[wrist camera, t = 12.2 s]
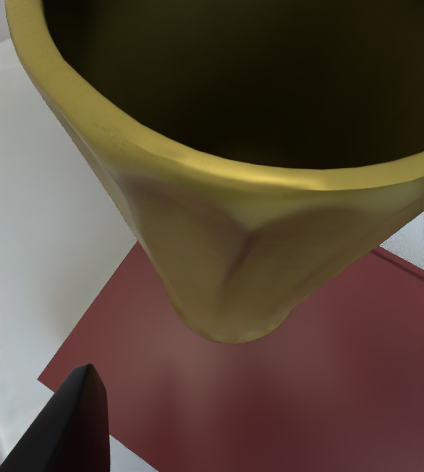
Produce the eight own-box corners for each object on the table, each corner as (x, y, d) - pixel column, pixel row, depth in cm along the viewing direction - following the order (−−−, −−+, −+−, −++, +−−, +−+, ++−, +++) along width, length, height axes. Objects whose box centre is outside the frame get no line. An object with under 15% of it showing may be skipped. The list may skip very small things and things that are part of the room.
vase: (289, 211, 18) (522, -260, 4) (305, 340, 16) (847, 244, 2) (166, 218, 18) (-4, -233, 4) (167, 347, 16) (-148, 293, 2)
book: (533, 362, 18) (598, 364, 15) (439, 650, 15) (497, 728, 12) (205, 179, 22) (202, 150, 19) (67, 375, 19) (36, 379, 15)
